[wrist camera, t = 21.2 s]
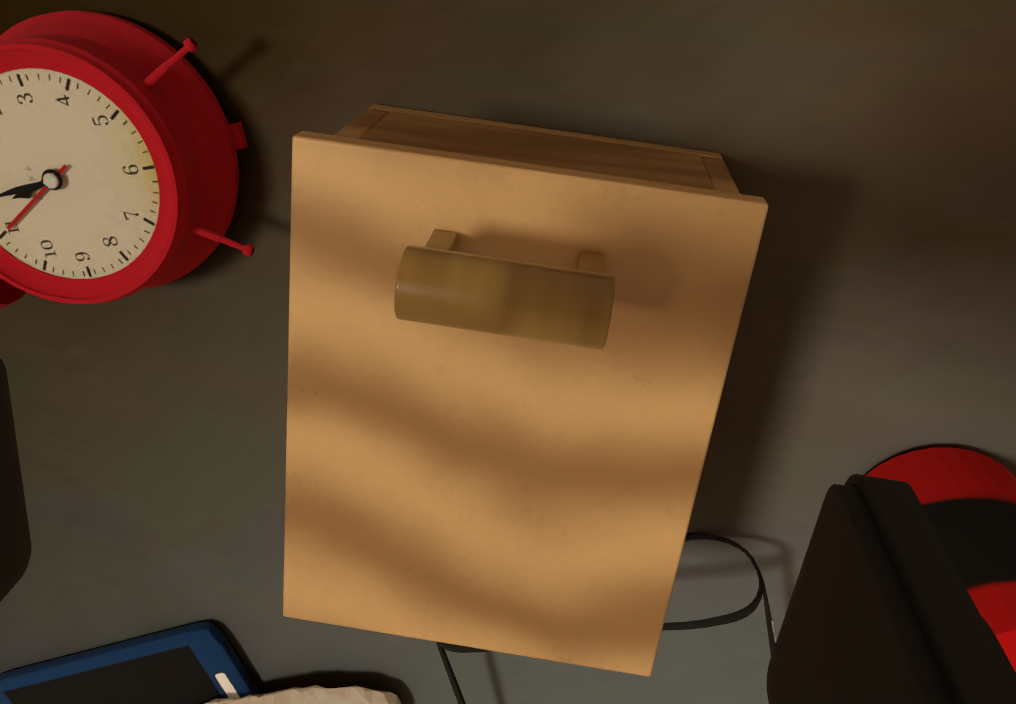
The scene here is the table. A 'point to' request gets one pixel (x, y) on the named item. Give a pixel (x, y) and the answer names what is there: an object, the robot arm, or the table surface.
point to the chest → (542, 147)
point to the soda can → (970, 525)
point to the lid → (501, 394)
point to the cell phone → (137, 672)
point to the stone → (316, 696)
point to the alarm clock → (107, 160)
